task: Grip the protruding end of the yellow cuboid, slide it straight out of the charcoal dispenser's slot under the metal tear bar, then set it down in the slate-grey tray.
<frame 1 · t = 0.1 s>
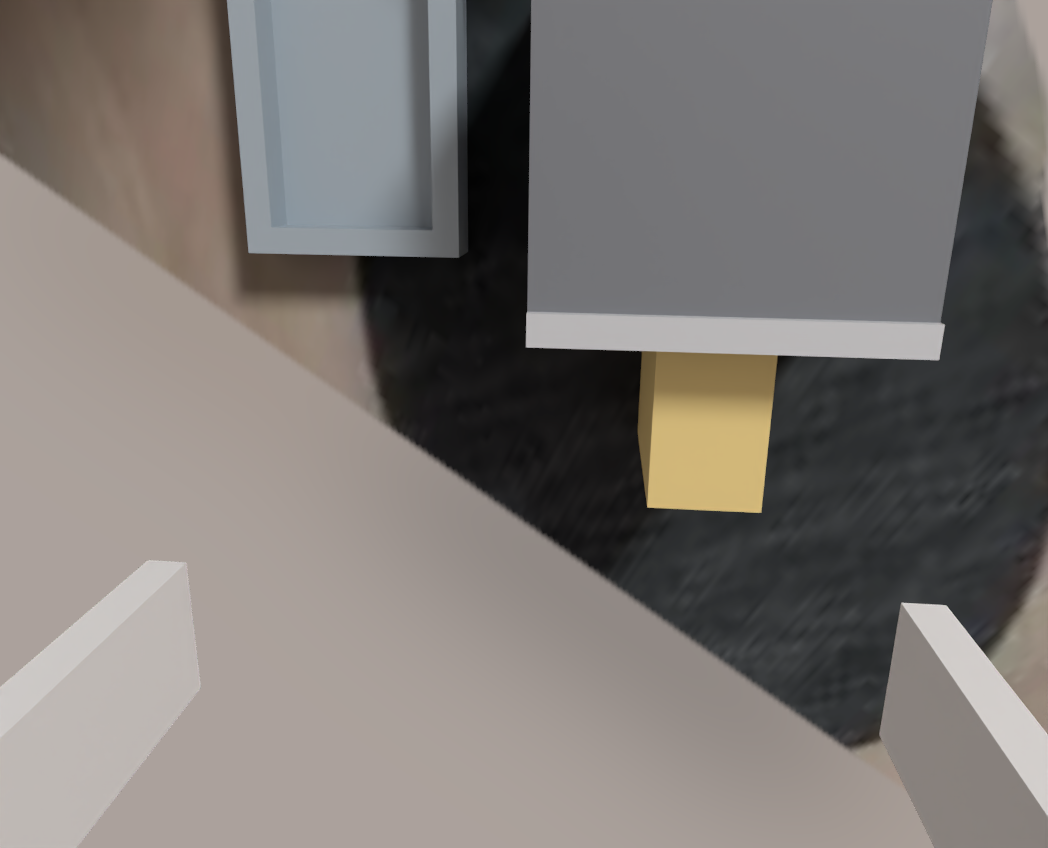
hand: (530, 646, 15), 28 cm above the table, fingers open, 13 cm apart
tray: (360, 52, 39), on the table
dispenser: (702, 147, 39), on the table
yellow cuboid: (689, 317, 41), on the table
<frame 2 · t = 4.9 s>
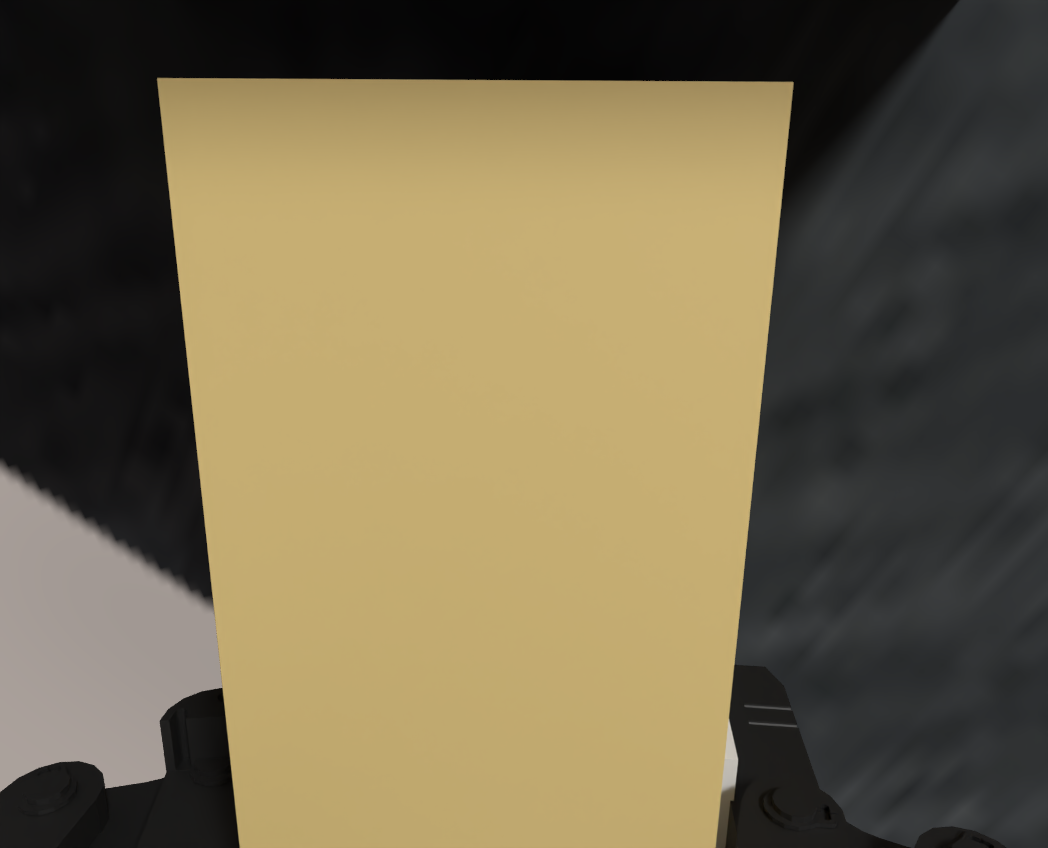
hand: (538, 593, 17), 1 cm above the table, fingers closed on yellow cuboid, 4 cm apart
yellow cuboid: (544, 443, 17), on the table, touching gripper
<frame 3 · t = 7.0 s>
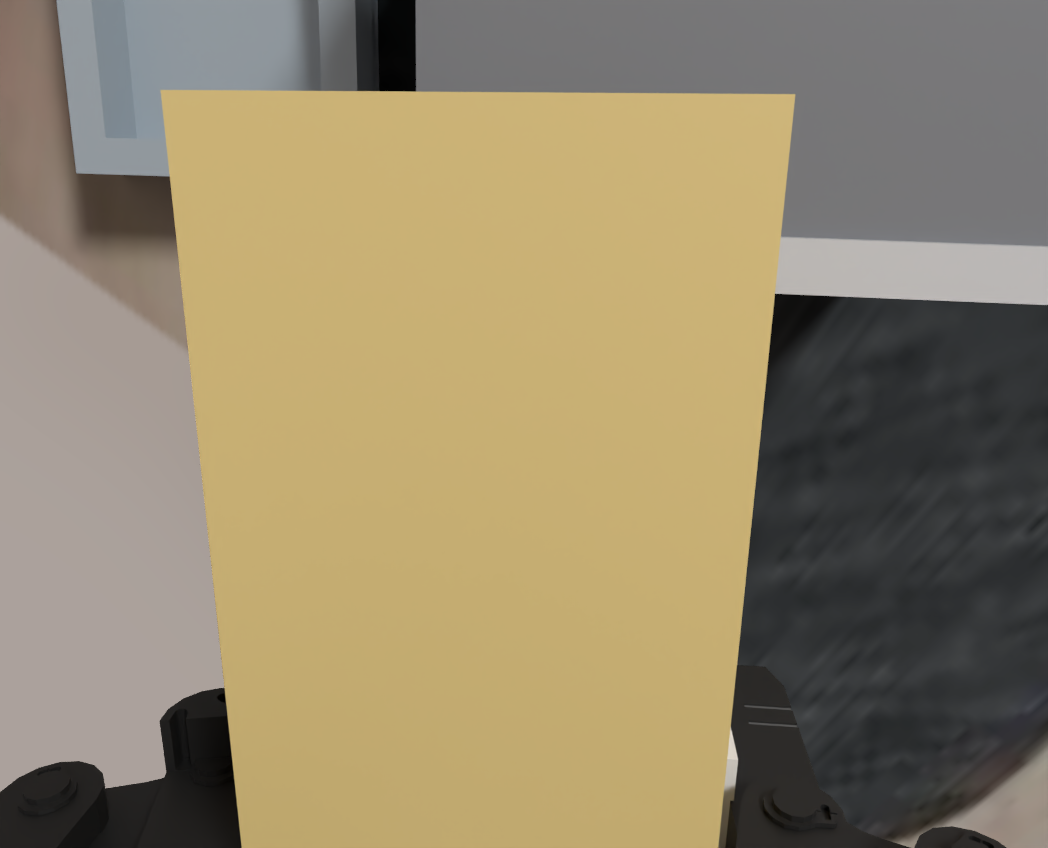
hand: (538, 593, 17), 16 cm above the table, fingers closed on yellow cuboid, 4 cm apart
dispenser: (694, 40, 28), on the table
yellow cuboid: (545, 447, 17), point 15 cm above the table, touching gripper
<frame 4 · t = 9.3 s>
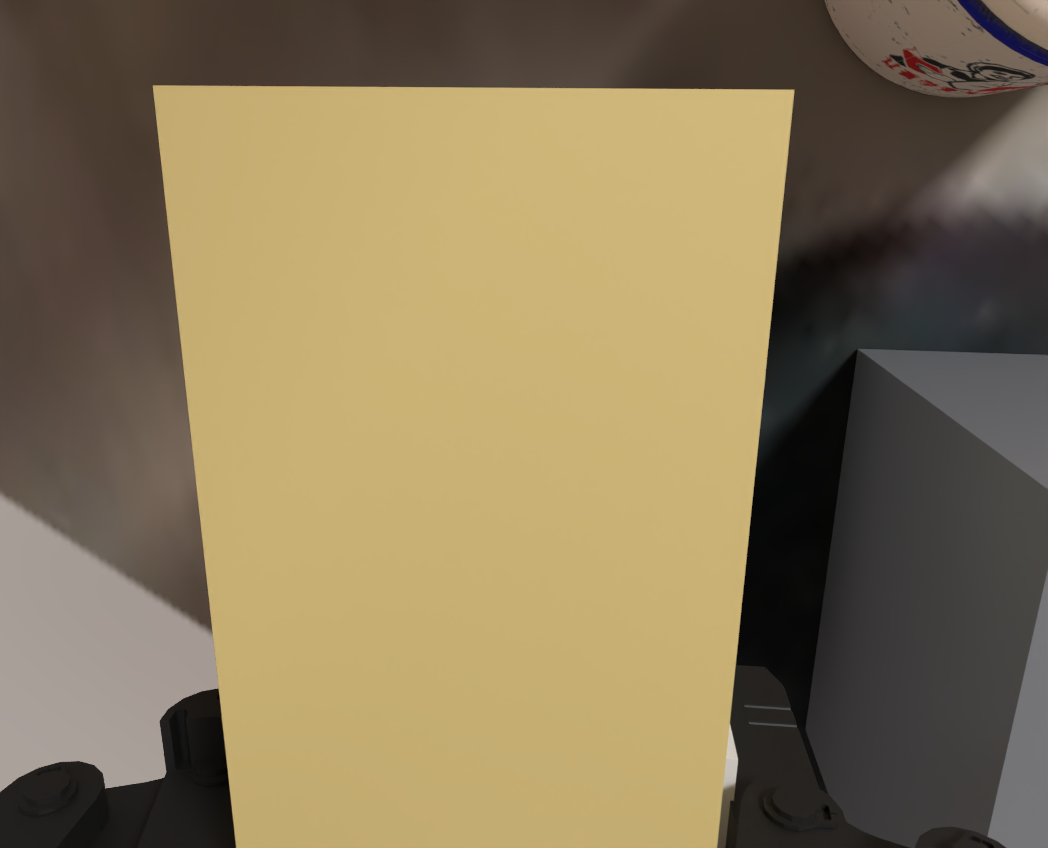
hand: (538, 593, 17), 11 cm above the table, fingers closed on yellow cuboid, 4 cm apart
yellow cuboid: (543, 446, 17), point 10 cm above the table, touching gripper
when the fingers open (3 cm above the table, at t = 10.9 s): yellow cuboid stays where it is, resting on tray.
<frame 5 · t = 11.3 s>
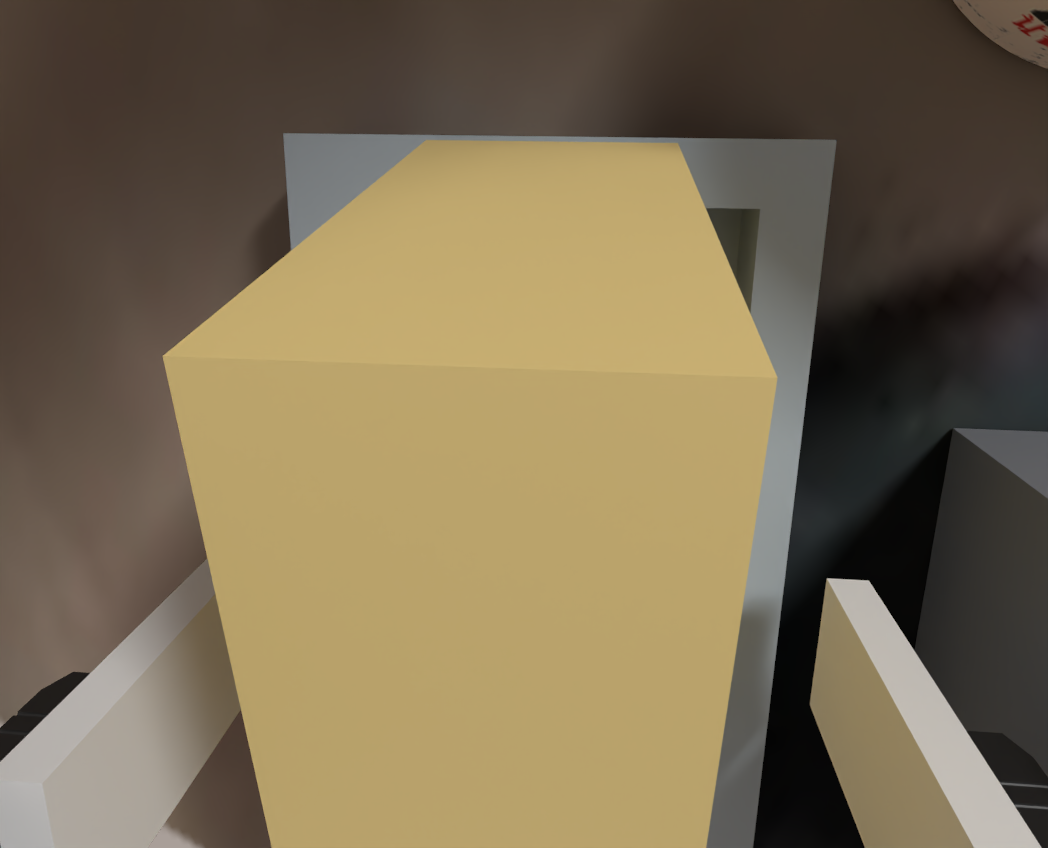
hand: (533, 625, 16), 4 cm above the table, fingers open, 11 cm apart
tray: (550, 530, 20), on the table
yellow cuboid: (547, 436, 18), point 2 cm above the table, tilted 11°, touching tray
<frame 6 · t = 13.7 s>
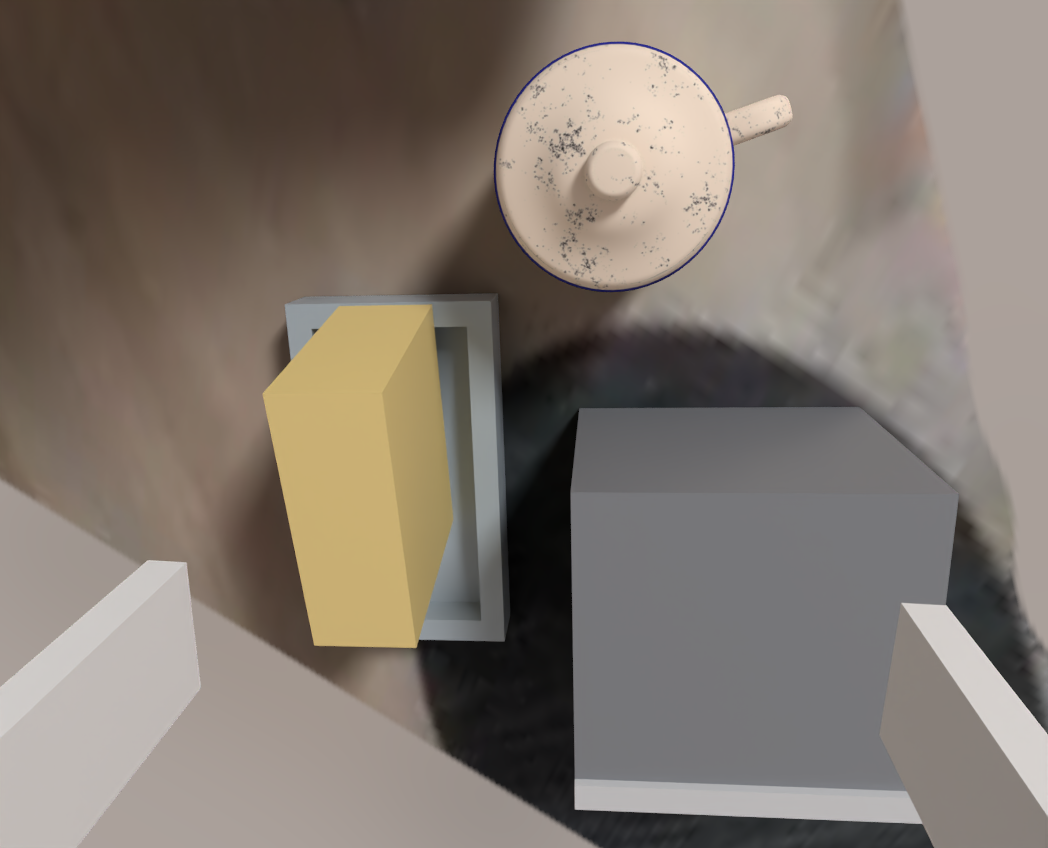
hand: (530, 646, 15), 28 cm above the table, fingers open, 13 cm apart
tray: (412, 463, 45), on the table
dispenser: (712, 534, 44), on the table
teacup with lid: (639, 163, 40), on the table
yellow cuboid: (399, 418, 42), point 2 cm above the table, tilted 11°, touching tray
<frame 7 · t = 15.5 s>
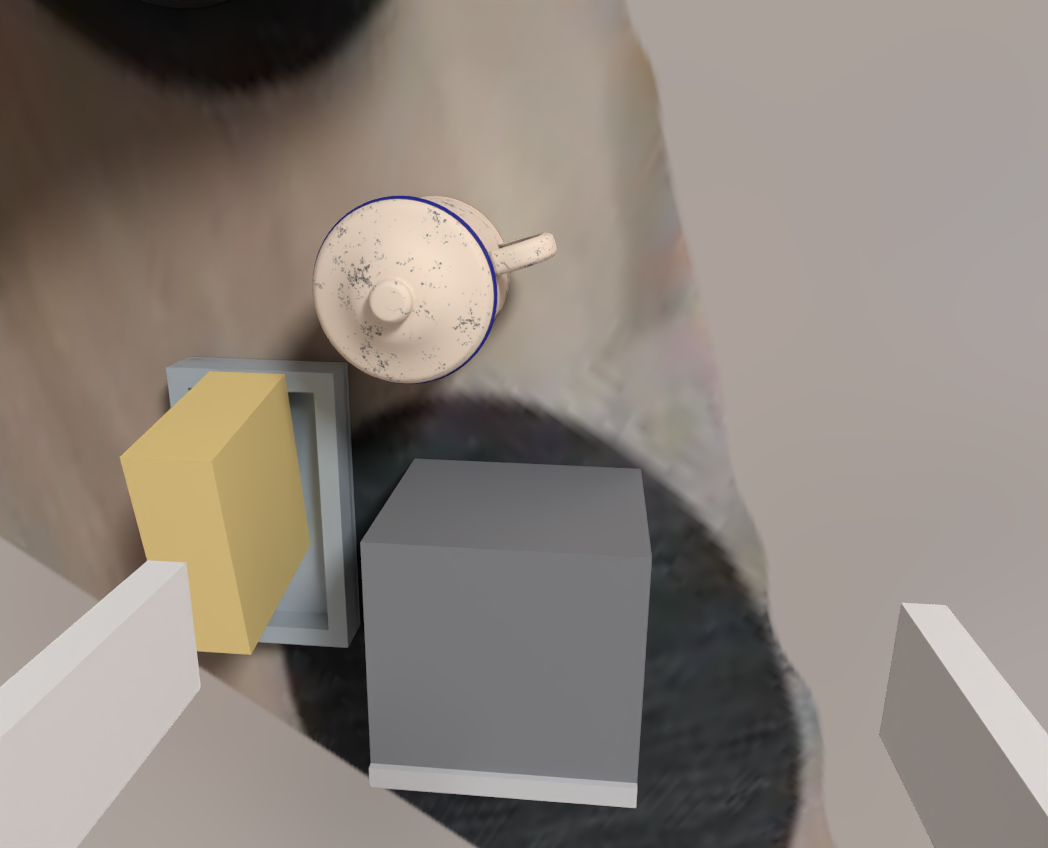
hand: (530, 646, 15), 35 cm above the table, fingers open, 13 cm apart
tray: (278, 496, 54), on the table
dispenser: (524, 566, 53), on the table
teacup with lid: (461, 264, 48), on the table
yellow cuboid: (262, 462, 51), point 2 cm above the table, tilted 11°, touching tray
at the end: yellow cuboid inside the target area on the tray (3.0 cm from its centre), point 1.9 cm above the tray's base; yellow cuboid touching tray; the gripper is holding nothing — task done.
